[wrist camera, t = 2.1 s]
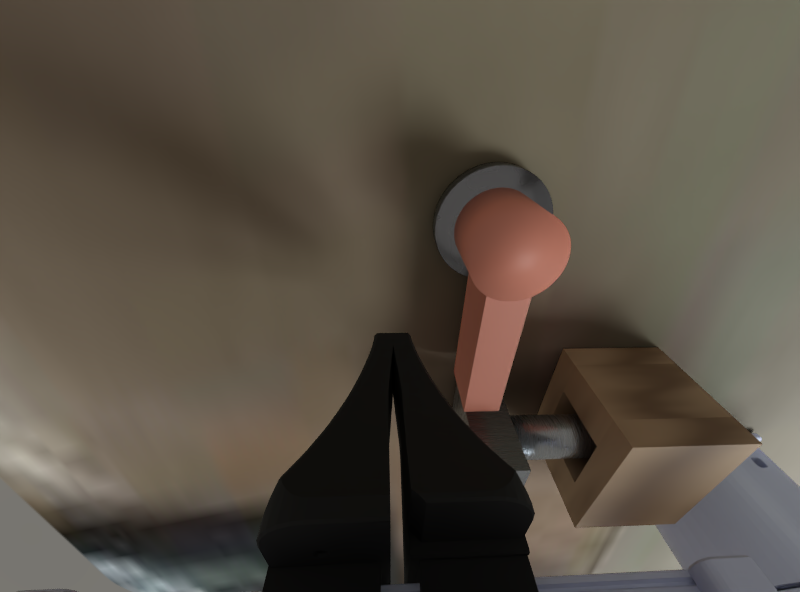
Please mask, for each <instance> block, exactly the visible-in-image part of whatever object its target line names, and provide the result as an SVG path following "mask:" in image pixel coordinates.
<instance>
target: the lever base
mask: <svg viewBox="0 0 800 592" xmlns="http://www.w3.org/2000/svg"><path fill="white" fill-rule="evenodd" d="M502 187H504V188H511V189H515V190H517V191H520V192H521V193H523V194H524V195H526V196H527V197H529V198H530V199H531V200H533V201H534V202H536V203H537V204H539V205H540V206H541V207H543V208H544V209H546V210H547V211H548V212H550V213H551V214H553V205H552V200H551V197H550V194H549V192H548V190H547V188H546V186H545V185H544V184H543V182H542V181H541V180H540V179H539V178H538V177H537V176H535V175H534V174H532V173H531V172H529V171H527V170H525V169H524V168H522V167H519V166H517V165H514V164H510V163H505V162H491V163H486V164H482V165H479V166H476V167H474V168H472V169H469V170H467V171H466V172H464V173H463V174H461V175H460V176H459V177H457V178H456V179H455V180H454V181H453V182H452V183H451V184H450V185H449V186H448V187H447V189H446V190H445V191H444V193H443V194H442V196H441V198H440V200H439V202H438V204H437V207H436V210H435V213H434V219H433V232H434V237H435V241H436V244H437V247H438V250H439V252H440V254H441V256H442V258H443V259H444V261H445V262H446V263H447V264H448V265H449V266H450V267H451V268H452V269H454V270H455V271H457V272H458V273H460V274H462V275H465V276H468V274H469V272H468V270H467V268H466V266H465V264H464V262H463V259H462V257H461V255H460V253H459V251H458V249H457V246H456V244H455V240H454V228H455V224H456V220H457V218H458V216H459V214H460V212H461V210H462V209H463V208H464V206H465V205H466V204H467V203H468V202H469V201H470V200H471V199H472V198H474V197H475V196H477V195H478V194H480V193H482V192H484V191H486V190H490V189H493V188H502Z"/></svg>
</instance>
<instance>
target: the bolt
mask: <svg viewBox="0 0 800 592" xmlns="http://www.w3.org/2000/svg"><path fill="white" fill-rule="evenodd" d="M452 408H453V409H454V411H455V412H456V413H457V414H458V415H459V417H460V418H461V419H462V420H463V421H464V422H465V423H466V424H467V425H468V426H469V427H470V429H471V430H472V431H473V432H474V433H475V434H476V435H477V436H478V437H479V438H480V439H481V440H482V441H483V442H484V443H485V444H486V445H487V446H488V447H489V448H490V449H491V450H493V451H494V452H495V453H496V454H497V455H498V456H499V457H500V458H502V459H503V460H504V461H505V462H506V463H507V464H509V465H510V466H511V467H512V468H513V469H515V470H516V472H517V474H518V476H519V477H520V479H521V481H522V483H523V485H525V483H526V480H527V478H528V476H529V474H530V471H531V469H530V467H529V464H528V462H527V460H538V459H571V458H590V457H591V456H592V454H593V452H594V451H595V449H596V448H597V446H596V444H595V443H594V441H593V439H592V438H591V436H590V434H589V433H588V431H587V429H586V428H585V426H584V424H583V423H582V421H581V419H580V418H579V416H578V414H551V415H509V413H508V410H507V408H506V405H505V402H504V400H503V398H502V402H501V405H500V409H499V411H476V412H464V410H463V406H462V402H461V398H460V394H459V390H458V386H457V383H456V389H455V395H454V401H453V407H452Z"/></svg>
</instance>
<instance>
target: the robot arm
mask: <svg viewBox="0 0 800 592" xmlns="http://www.w3.org/2000/svg"><path fill="white" fill-rule="evenodd" d="M393 397H394V406H395V414H396V422H397V430H398V438H399V446H400V461H401V489H402V519H403V551H404V584H391V585H390V471H389V439H390V426H391V412H392V398H393ZM751 434H752V435H753V436H754V437H756V438H757V439H758V440H759V441H761V440H762V438H761V437H760V436H759V435H758V434H756V433H751ZM534 514H535V512H534V509H533V506H532V503H531V500H530V498H529V495H528V493H527V491H526V489H525V487H524V485H523V483H522V481H521V479H520V477H519V476H518V474H517V472H516V470H515V469H513V468H512V467H511V466H510V465H509V464H507V463H506V462H505V461H504V460H503V459H502V458H500V457H499V456H498V455H497V454H496V453H495V452H494V451H493V450H491V449H490V448H489V447H488V446H487V445H486V444H485V443H484V442H483V441H482V440H481V439H480V438H479V437H478V436H477V435H476V434H475V433H474V432H473V431H472V430H471V429H470V427H469V426H468V425H467V424H466V423H465V422H464V421H463V420H462V419H461V418H460V417H459V415H458V414H457V413H456V412H455V411H454V409H453V408H452V407H451V406H450V404H449V403H448V402H447V401H446V399H445V398H444V397H443V395H442V394H441V392H440V391H439V390H438V388H437V387H436V385H435V384H434V382H433V381H432V379H431V377H430V376H429V374H428V372H427V371H426V369H425V367H424V365H423V364H422V362H421V360H420V358H419V356H418V354H417V352H416V350H415V347H414V345H413V342H412V340H411V336H410V335H409V334H408V333H377V334H376V335H375V337H374V342H373V345H372V348H371V351H370V354H369V356H368V359H367V361H366V363H365V365H364V368H363V370H362V372H361V374H360V376H359V378H358V380H357V381H356V383H355V385H354V387H353V389H352V391H351V392H350V394H349V396H348V397H347V399H346V400H345V402H344V403H343V405H342V406H341V408H340V409H339V411H338V412H337V414H336V415H335V416H334V418H333V419H332V420H331V422H330V423H329V424H328V426H327V427H326V428H325V430H324V431H323V432H322V433H321V434H320V436H319V437H318V438H317V439H316V440H315V441H314V443H313V444H312V445H311V446H310V447H309V448H308V450H307V451H306V452H305V453H304V454H303V455H302V456H301V457H300V458H299V459H298V460H297V461H296V462H295V463H294V464H293V465H292V466H291V467H290V468H289V469H288V470H287V471H286V472H285V473H284V474H283V475H282V476H281V477H280V479H279V481H278V483H277V485H276V487H275V489H274V491H273V493H272V495H271V497H270V500H269V502H268V505H267V507H266V510H265V512H264V515H263V519H262V522H261V526H260V530H259V533H258V537H257V540H256V541H257V545H258V548H259V549H260V551H261V553H262V555H263V556H264V558H265V560H266V562H267V563H268V565H269V567H268V571H267V575H266V579H265V583H264V587H263V591H253V592H800V487H799V486H798V485H797V484H796V483H795V482H794V481H793V480H792V479H791V478H790V477H789V476H788V475H787V474H786V473H785V472H784V471H782V470H781V469H780V468H779V467H778V466H777V465H776V464H775V463H774V462H773V461H772V460H771V459H770V458H769V457H768V456H767V455H766V454H764V453H763V452H762V451H761V450H760V449H759V448H758V449H757V450H756V451H754V452H753V453H752V454H751V455H750V456H749V457H748V458H747V459H746V460H745V461H743V462H742V463H741V464H740V465H739V466H738V467H737V468H736V469H735V470H734V471H732V472H731V473H730V474H729V475H728V476H727V477H726V478H725V479H724V480H723V481H721V482H720V483H719V484H718V485H717V486H716V487H715V488H714V489H713V490H712V491H711V492H709V493H708V494H707V495H706V496H705V497H704V498H703V499H702V500H701V501H700V502H698V503H697V504H696V505H695V506H694V507H693V508H692V509H691V510H690V511H689V512H687V513H686V514H685V515H684V516H683V517H682V518H681V519H680V520H679V521H678V522H676V523H675V524H660V525H656V527H657V529H658V530H659V532H660V533H661V535H662V536H663V538H664V540H665V541H666V543H667V544H668V546H669V548H670V549H671V551H672V552H673V554H674V556H675V557H676V559H677V560H678V562H679V564H680V565H681V567H682V568H683V570H666V571H647V572H627V573H607V574H588V575H568V576H548V577H534V575H533V572H532V568H531V565H530V562H529V559H528V556H527V555H529V553H530V552H529V547H528V544H527V541H526V537H525V534H526V532H527V530H528V528H529V526H530V524H531V523H532V521H533V518H534ZM17 592H77V591H74V590H69V589H47V590H46V589H45V590H25V591H17Z"/></svg>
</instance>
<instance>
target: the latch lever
mask: <svg viewBox="0 0 800 592" xmlns="http://www.w3.org/2000/svg"><path fill="white" fill-rule="evenodd" d="M454 240H455V244H456V246H457V249H458V251H459V253H460V255H461V257H462V259H463V262H464V264H465V266H466V268H467V270H468V272H469V274H468V281H467V288H466V294H465V301H464V307H463V314H462V320H461V327H460V334H459V340H458V347H457V353H456V360H455V366H454V374H455V378H456V382H457V386H458V390H459V394H460V398H461V402H462V406H463V410H464V412H476V411H499V409H500V405H501V402H502V398H503V395H504V391H505V388H506V384H507V381H508V377H509V374H510V371H511V367H512V364H513V360H514V357H515V353H516V350H517V346H518V343H519V340H520V336H521V333H522V329H523V326H524V322H525V319H526V315H527V312H528V308H529V305H530V302H531V298H532V297H533V296H535V295H537V294H539V293H541V292H542V291H544V290H545V289H547V288H548V287H549V286H550V285H552V284H553V283H554V282H555V281H556V280H557V278H558V277H559V276H560V275H561V273H562V272H563V270H564V269H565V267H566V265H567V262H568V260H569V256H570V251H571V240H570V235H569V233H568V230H567V228H566V227H565V225H564V224H563V223H562V222H561V221H560V220H559V219H558V218H557V217H555V216H554V215H553V214H551V213H550V212H548V211H547V210H546V209H544V208H543V207H541V206H540V205H539V204H537V203H536V202H534V201H533V200H531V199H530V198H529V197H527V196H526V195H524V194H523V193H521V192H520V191H517V190H515V189H511V188H504V187H502V188H493V189H490V190H486V191H484V192H482V193H480V194H478V195H477V196H475V197H474V198H472V199H471V200H470V201H469V202H468V203H467V204H466V205H465V206H464V208H463V209H462V210H461V212H460V214H459V216H458V218H457V220H456V224H455V228H454Z"/></svg>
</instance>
